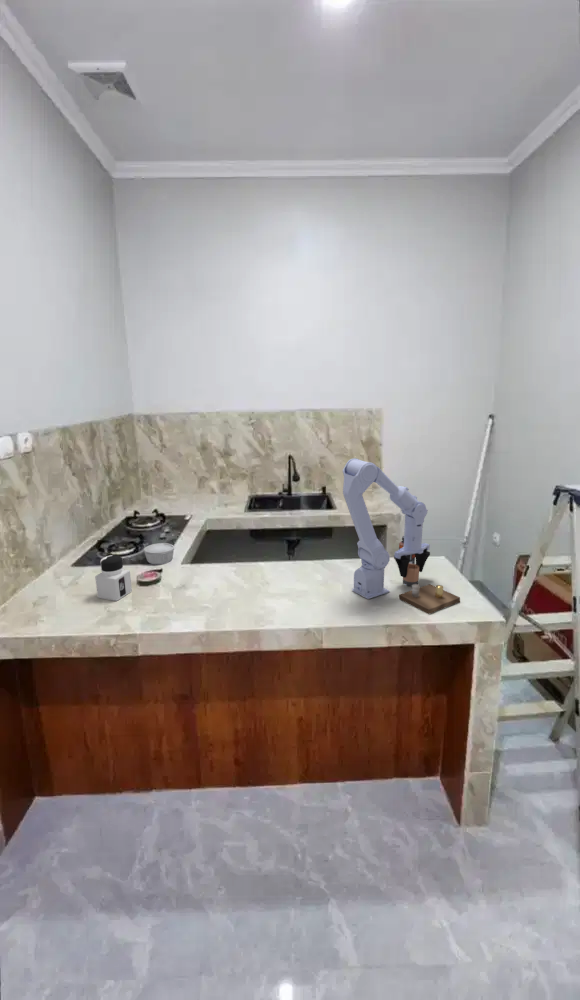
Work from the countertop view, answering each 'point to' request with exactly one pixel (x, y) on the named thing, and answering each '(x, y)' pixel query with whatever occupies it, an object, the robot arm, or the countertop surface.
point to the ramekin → (159, 553)
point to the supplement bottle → (410, 557)
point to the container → (113, 579)
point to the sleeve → (411, 575)
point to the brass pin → (439, 591)
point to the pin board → (428, 598)
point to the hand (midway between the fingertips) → (411, 573)
